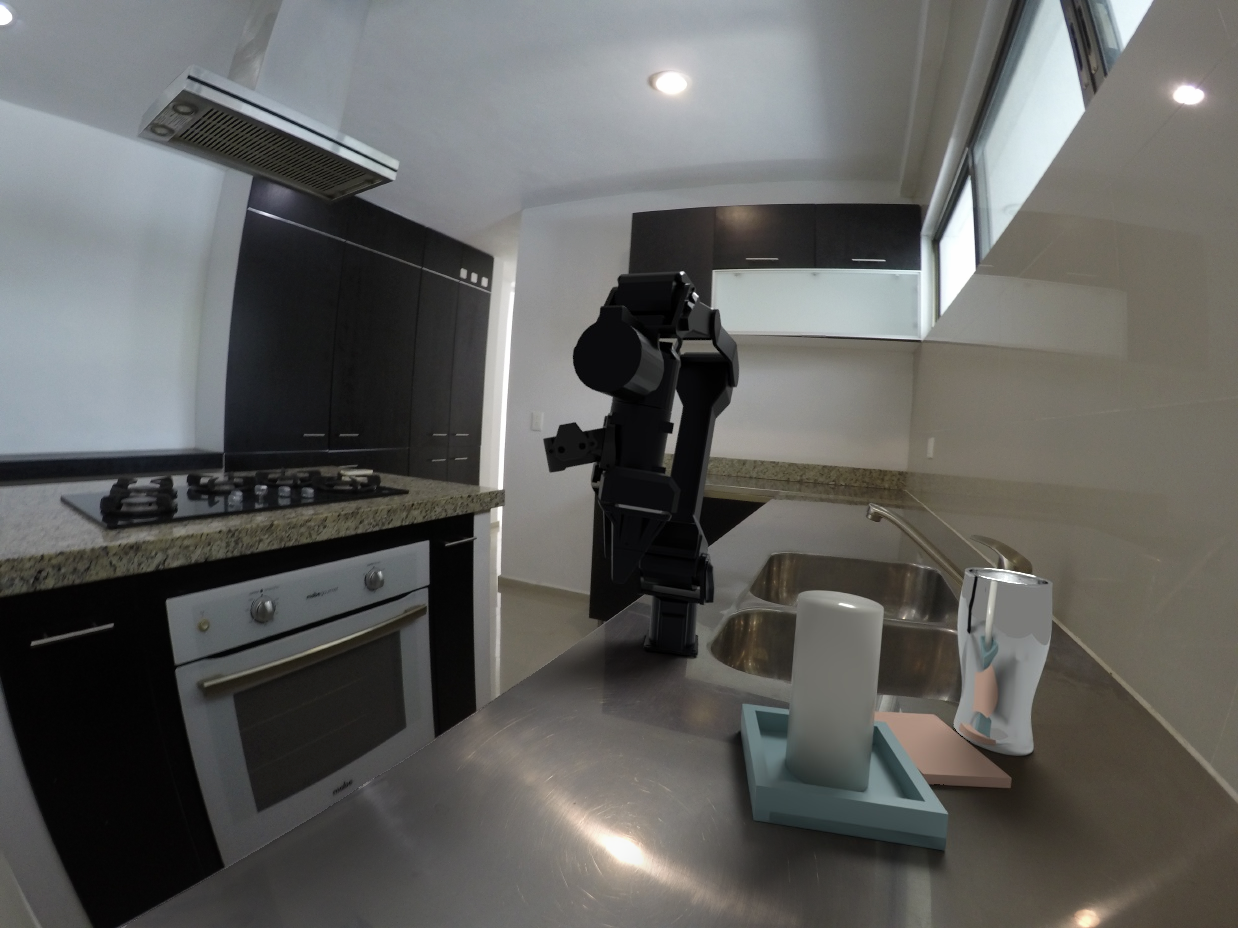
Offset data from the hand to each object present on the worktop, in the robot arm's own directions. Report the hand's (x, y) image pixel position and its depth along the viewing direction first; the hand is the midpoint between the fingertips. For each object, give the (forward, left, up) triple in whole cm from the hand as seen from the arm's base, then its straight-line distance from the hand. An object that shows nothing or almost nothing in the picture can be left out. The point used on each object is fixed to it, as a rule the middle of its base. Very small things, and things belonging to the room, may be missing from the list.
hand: (613, 569), depth 53 cm
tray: (+8, +19, -13) cm, 24 cm away
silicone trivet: (+1, +29, -13) cm, 31 cm away
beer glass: (-3, +36, -13) cm, 38 cm away
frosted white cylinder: (+8, +19, -12) cm, 23 cm away
